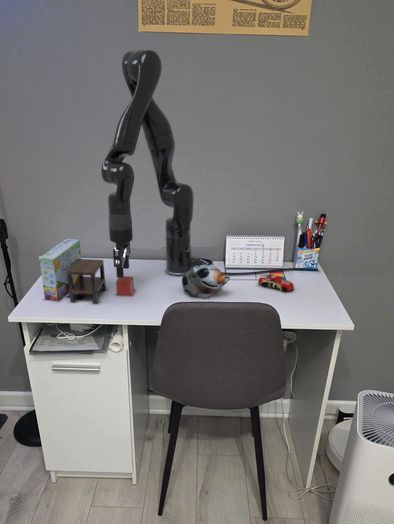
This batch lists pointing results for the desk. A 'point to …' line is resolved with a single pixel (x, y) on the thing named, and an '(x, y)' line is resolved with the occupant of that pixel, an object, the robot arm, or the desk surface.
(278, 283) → the race car
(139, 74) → the robot arm
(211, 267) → the spotted animal figurine
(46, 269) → the snack box
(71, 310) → the desk surface
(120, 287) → the block
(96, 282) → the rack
